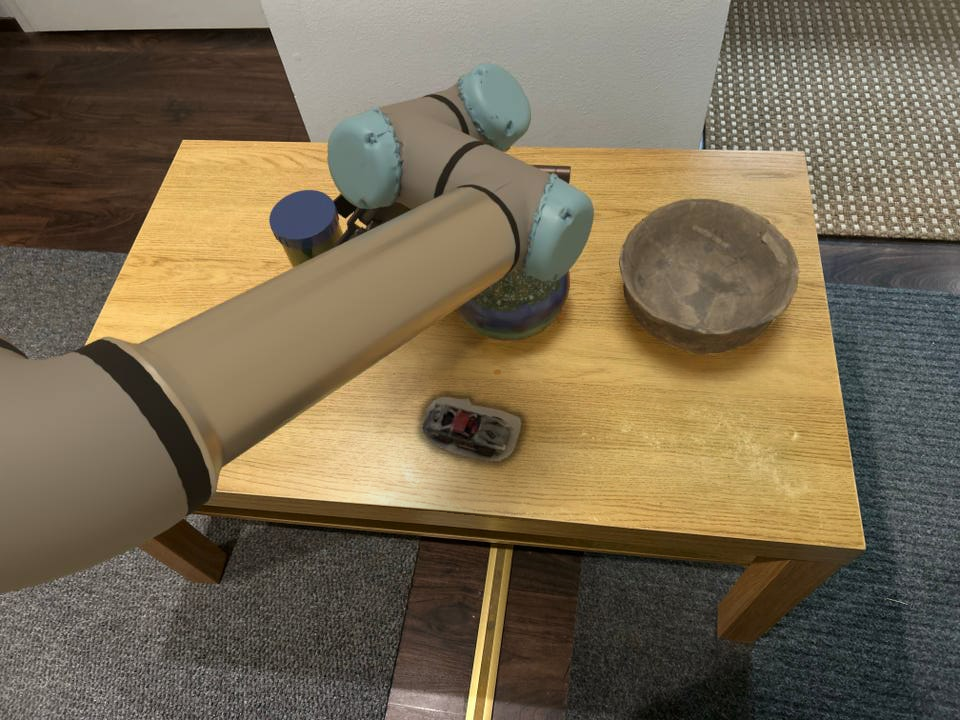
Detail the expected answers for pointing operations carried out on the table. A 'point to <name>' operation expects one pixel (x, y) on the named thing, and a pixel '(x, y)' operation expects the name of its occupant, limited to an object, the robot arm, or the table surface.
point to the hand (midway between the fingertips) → (320, 249)
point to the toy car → (471, 429)
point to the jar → (312, 249)
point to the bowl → (707, 275)
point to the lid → (304, 219)
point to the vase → (516, 306)
